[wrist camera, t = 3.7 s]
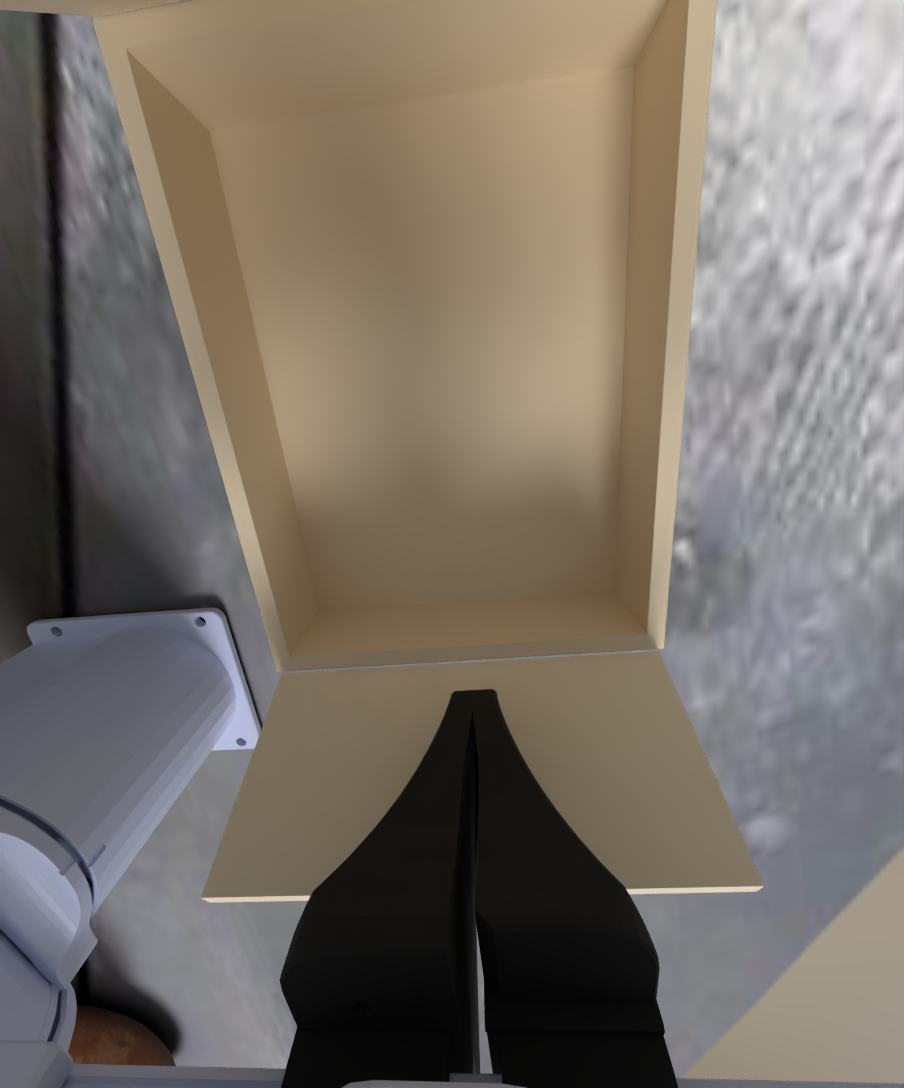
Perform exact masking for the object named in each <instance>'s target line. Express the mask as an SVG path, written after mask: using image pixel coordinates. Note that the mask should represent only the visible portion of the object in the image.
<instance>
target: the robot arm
mask: <svg viewBox="0 0 904 1088" xmlns="http://www.w3.org/2000/svg"><path fill="white" fill-rule="evenodd" d="M200 617H202V618H204V619H205V621H206V622H203V621H202V620H201V619H200ZM27 633H28V635H29V637H30V639H31V641H32V643H33V645H31V646H30V647H28V648H26V649H24V650H23V651H21V652H19V653H18V654H16V655H14V656H12V657H11V658H9V659H7V660H6V661H4V662H2V663H0V1088H904V1084H894V1083H891V1084H890V1083H851V1082H849V1083H848V1082H810V1081H769V1080H726V1079H685V1078H676V1077H675V1074H674V1070H673V1067H672V1064H671V1060H670V1057H669V1053H668V1050H667V1046H666V1043H665V1039H664V1036H663V1035H664V1033H665V1030H664V1024H663V1021H662V1017H661V1014H660V1010H659V1007H658V1004H657V1000H656V996H657V987H658V978H659V961H658V956H657V953H656V950H655V947H654V944H653V942H652V940H651V937H650V935H649V932H648V930H647V928H646V926H645V924H644V922H643V919H642V918H641V916H640V914H639V912H638V910H637V908H636V906H635V904H634V902H633V901H632V899H631V897H630V895H629V893H628V891H627V890H626V888H625V886H624V885H623V884H622V883H621V882H620V881H619V880H618V879H617V878H616V877H615V876H614V875H613V874H612V873H611V872H610V871H609V870H608V869H607V868H606V867H605V866H604V865H603V864H602V863H601V862H600V861H599V860H598V859H597V857H596V856H595V855H594V854H593V853H592V852H591V851H590V850H589V848H588V847H587V846H586V845H585V844H584V843H583V842H582V841H581V839H580V838H579V837H578V836H577V835H576V833H575V832H574V831H573V830H572V828H571V827H570V826H569V825H568V823H567V822H566V821H565V820H564V818H563V817H562V816H561V814H560V813H559V812H558V811H557V809H556V808H555V807H554V805H553V804H552V802H551V801H550V800H549V798H548V797H547V795H546V794H545V792H544V791H543V789H542V788H541V786H540V785H539V783H538V782H537V780H536V779H535V777H534V776H533V774H532V772H531V771H530V769H529V767H528V766H527V764H526V762H525V760H524V758H523V757H522V755H521V753H520V751H519V749H518V747H517V745H516V743H515V741H514V739H513V737H512V735H511V733H510V731H509V729H508V726H507V724H506V722H505V719H504V716H503V714H502V711H501V708H500V705H499V701H498V697H497V692H496V691H495V690H494V689H482V690H462V691H454V692H453V693H452V694H451V697H450V701H449V704H448V706H447V709H446V712H445V714H444V717H443V719H442V721H441V724H440V726H439V728H438V730H437V732H436V734H435V736H434V738H433V740H432V742H431V744H430V746H429V748H428V750H427V752H426V753H425V755H424V757H423V759H422V761H421V762H420V764H419V766H418V768H417V769H416V771H415V773H414V774H413V776H412V777H411V779H410V781H409V782H408V784H407V785H406V787H405V788H404V789H403V791H402V792H401V794H400V795H399V797H398V798H397V799H396V801H395V802H394V803H393V805H392V806H391V807H390V809H389V810H388V811H387V813H386V814H385V815H384V817H383V818H382V819H381V820H380V822H379V823H378V824H377V825H376V827H375V828H374V829H373V830H372V831H371V832H370V833H369V835H368V836H367V837H366V838H365V839H364V840H363V841H362V842H361V844H360V845H359V846H358V847H357V848H356V849H355V850H354V851H353V852H352V854H351V855H350V856H349V857H348V858H347V859H346V860H345V861H344V862H343V863H342V864H341V865H340V866H339V867H338V868H337V869H336V870H335V871H334V872H332V873H331V874H330V875H329V876H328V877H327V878H326V879H325V880H324V881H323V882H322V883H321V884H320V885H319V886H318V887H317V888H316V889H315V890H314V891H313V892H312V894H311V896H310V898H309V900H308V902H307V905H306V907H305V909H304V911H303V914H302V916H301V918H300V920H299V923H298V925H297V927H296V930H295V933H294V935H293V938H292V941H291V945H290V948H289V951H288V954H287V957H286V960H285V964H284V967H283V970H282V974H281V977H280V984H281V988H282V992H283V994H284V997H285V999H286V1001H287V1004H288V1006H289V1008H290V1011H291V1013H292V1015H293V1018H294V1020H295V1022H296V1024H297V1031H296V1034H295V1038H294V1041H293V1045H292V1049H291V1052H290V1056H289V1060H288V1063H287V1067H286V1069H267V1068H225V1067H183V1066H142V1065H100V1064H73V1059H72V1057H71V1056H70V1054H69V1053H68V1049H69V1046H70V1042H71V1039H72V1035H73V1031H74V1027H75V1021H76V1012H77V1005H76V996H75V991H74V989H73V987H72V985H71V981H72V980H73V978H74V977H75V975H76V974H77V972H78V971H79V969H80V968H81V966H82V965H83V963H84V962H85V960H86V959H87V957H88V956H89V954H90V953H91V951H92V950H93V948H94V947H95V945H96V944H97V942H98V940H97V938H96V936H95V935H94V934H93V932H92V930H91V928H90V924H89V921H90V919H91V918H92V916H93V915H94V914H95V912H96V911H97V909H98V908H99V907H100V905H101V904H102V902H103V901H104V900H105V898H106V897H107V895H108V894H109V893H110V891H111V890H112V888H113V887H114V886H115V884H116V883H117V882H118V880H119V879H120V877H121V876H122V875H123V873H124V872H125V870H126V869H127V868H128V866H129V865H130V863H131V862H132V861H133V859H134V858H135V856H136V855H137V854H138V852H139V851H140V849H141V848H142V847H143V845H144V844H145V842H146V841H147V840H148V838H149V837H150V835H151V834H152V833H153V831H154V830H155V828H156V827H157V826H158V824H159V823H160V821H161V820H162V819H163V817H164V816H165V814H166V813H167V812H168V810H169V809H170V807H171V806H172V805H173V803H174V802H175V800H176V799H177V798H178V796H179V795H180V793H181V792H182V791H183V789H184V788H185V786H186V785H187V784H188V782H189V781H190V779H191V778H192V777H193V775H194V774H195V773H196V771H197V770H198V768H199V767H200V766H201V764H202V763H203V761H204V760H205V759H206V757H207V756H208V754H209V753H210V752H211V751H212V750H233V749H254V748H255V746H256V743H257V741H258V738H259V735H260V732H261V727H260V724H259V721H258V718H257V715H256V711H255V708H254V705H253V702H252V699H251V696H250V692H249V689H248V686H247V683H246V680H245V677H244V674H243V670H242V667H241V664H240V661H239V658H238V655H237V651H236V648H235V645H234V642H233V639H232V636H231V632H230V629H229V626H228V623H227V620H226V617H225V615H224V613H223V612H222V611H221V610H219V609H217V608H198V609H184V610H170V611H156V612H142V613H128V614H114V615H100V616H86V617H72V618H58V619H44V620H37V621H35V622H33V623H31V624H29V625H28V626H27ZM242 738H243V739H244V740H243V739H242ZM477 831H478V844H477ZM476 846H477V870H476ZM475 871H476V876H475ZM476 925H477V932H478V939H479V946H480V954H481V961H482V968H483V975H484V1005H485V1031H486V1032H487V1036H488V1043H489V1050H490V1057H491V1063H492V1070H493V1074H480V1053H479V1018H478V978H477V933H476Z"/></svg>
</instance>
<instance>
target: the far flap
mask: <svg viewBox="0 0 904 1088" xmlns="http://www.w3.org/2000/svg"><path fill="white" fill-rule="evenodd" d="M482 689H494V690H495V691H496V692H497V697H498V701H499V705H500V708H501V711H502V714H503V716H504V719H505V722H506V724H507V726H508V729H509V731H510V733H511V735H512V737H513V739H514V741H515V743H516V745H517V747H518V749H519V751H520V753H521V755H522V757H523V758H524V760H525V762H526V764H527V766H528V767H529V769H530V771H531V772H532V774H533V776H534V777H535V779H536V780H537V782H538V783H539V785H540V786H541V788H542V789H543V791H544V792H545V794H546V795H547V797H548V798H549V800H550V801H551V802H552V804H553V805H554V807H555V808H556V809H557V811H558V812H559V813H560V814H561V816H562V817H563V818H564V820H565V821H566V822H567V823H568V825H569V826H570V827H571V828H572V830H573V831H574V832H575V833H576V835H577V836H578V837H579V838H580V839H581V841H582V842H583V843H584V844H585V845H586V846H587V847H588V848H589V850H590V851H591V852H592V853H593V854H594V855H595V856H596V857H597V859H598V860H599V861H600V862H601V863H602V864H603V865H604V866H605V867H606V868H607V869H608V870H609V871H610V872H611V873H612V874H613V875H614V876H615V877H616V878H617V879H618V880H619V881H620V882H621V883H622V884H623V885H624V886H625V888H626V890H627V891H628V893H629V894H660V893H710V892H757V891H758V890H759V889H761V888H762V887H763V886H764V885H763V883H762V881H761V878H760V876H759V874H758V872H757V869H756V867H755V865H754V863H753V861H752V858H751V856H750V854H749V852H748V849H747V847H746V845H745V843H744V840H743V838H742V836H741V834H740V831H739V829H738V827H737V825H736V823H735V820H734V818H733V816H732V814H731V811H730V809H729V807H728V805H727V802H726V800H725V798H724V796H723V794H722V791H721V789H720V787H719V785H718V782H717V780H716V778H715V776H714V773H713V771H712V769H711V767H710V764H709V762H708V760H707V758H706V756H705V753H704V751H703V749H702V747H701V744H700V742H699V740H698V738H697V735H696V733H695V731H694V729H693V727H692V724H691V722H690V720H689V718H688V715H687V713H686V711H685V709H684V706H683V704H682V702H681V700H680V697H679V695H678V693H677V691H676V689H675V686H674V684H673V682H672V680H671V677H670V675H669V673H668V671H667V668H666V666H665V664H664V662H663V660H662V657H661V655H660V653H659V651H656V652H640V653H623V654H606V655H589V656H572V657H555V658H538V659H521V660H504V661H487V662H470V663H454V664H437V665H420V666H403V667H386V668H369V669H352V670H335V671H318V672H301V673H284V674H281V677H280V680H279V683H278V685H277V688H276V691H275V694H274V696H273V699H272V702H271V705H270V707H269V710H268V713H267V716H266V719H265V721H264V724H263V727H262V730H261V732H260V735H259V738H258V741H257V743H256V746H255V749H254V752H253V755H252V757H251V760H250V763H249V766H248V768H247V771H246V774H245V777H244V780H243V782H242V785H241V788H240V791H239V793H238V796H237V799H236V802H235V804H234V807H233V810H232V813H231V816H230V818H229V821H228V824H227V827H226V829H225V832H224V835H223V838H222V841H221V843H220V846H219V849H218V852H217V854H216V857H215V860H214V863H213V865H212V868H211V871H210V874H209V877H208V879H207V882H206V885H205V888H204V890H203V893H202V896H201V898H202V899H204V900H206V901H208V902H210V903H211V902H261V901H308V900H309V898H310V896H311V894H312V892H313V891H314V890H315V889H316V888H317V887H318V886H319V885H320V884H321V883H322V882H323V881H324V880H325V879H326V878H327V877H328V876H329V875H330V874H331V873H332V872H334V871H335V870H336V869H337V868H338V867H339V866H340V865H341V864H342V863H343V862H344V861H345V860H346V859H347V858H348V857H349V856H350V855H351V854H352V852H353V851H354V850H355V849H356V848H357V847H358V846H359V845H360V844H361V842H362V841H363V840H364V839H365V838H366V837H367V836H368V835H369V833H370V832H371V831H372V830H373V829H374V828H375V827H376V825H377V824H378V823H379V822H380V820H381V819H382V818H383V817H384V815H385V814H386V813H387V811H388V810H389V809H390V807H391V806H392V805H393V803H394V802H395V801H396V799H397V798H398V797H399V795H400V794H401V792H402V791H403V789H404V788H405V787H406V785H407V784H408V782H409V781H410V779H411V777H412V776H413V774H414V773H415V771H416V769H417V768H418V766H419V764H420V762H421V761H422V759H423V757H424V755H425V753H426V752H427V750H428V748H429V746H430V744H431V742H432V740H433V738H434V736H435V734H436V732H437V730H438V728H439V726H440V724H441V721H442V719H443V717H444V714H445V712H446V709H447V706H448V704H449V701H450V697H451V694H452V693H453V692H454V691H462V690H482ZM477 844H478V831H477ZM476 870H477V846H476ZM475 876H476V871H475Z"/></svg>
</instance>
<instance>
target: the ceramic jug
mask: <svg viewBox="0 0 904 1088" xmlns="http://www.w3.org/2000/svg"><path fill="white" fill-rule="evenodd" d="M68 1053H69V1054H70V1056H71V1057H72V1059H73V1064H100V1065H142V1066H176V1065H175V1062H174V1060H173V1058H172V1056H171V1054H170V1052H169V1050H168V1049H167V1048H166V1046H165V1045H164V1044H163V1042H162V1041H161V1040H160V1039H159V1038H158V1037H157V1036H156V1035H155V1034H154V1033H153V1032H152V1031H151V1030H150V1029H148V1028H147V1027H145V1026H144V1025H142V1024H141V1023H139V1022H137V1021H135V1020H134V1019H132V1018H130V1017H127V1016H125V1015H122V1014H119V1013H117V1012H113V1011H110V1010H106V1009H102V1008H98V1007H92V1006H83V1005H77V1012H76V1021H75V1027H74V1031H73V1035H72V1039H71V1042H70V1046H69V1049H68Z"/></svg>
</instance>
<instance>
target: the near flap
mask: <svg viewBox="0 0 904 1088" xmlns="http://www.w3.org/2000/svg"><path fill="white" fill-rule="evenodd" d="M182 1H187V0H0V10H12V11H26V12H41V13H55V14H69V15H84V16H103V15H109V14H114V13H120V12H125V11H131V10H137V9H142V8H148V7H153V6H159V5H165V4H170V3H176V2H182Z"/></svg>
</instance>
